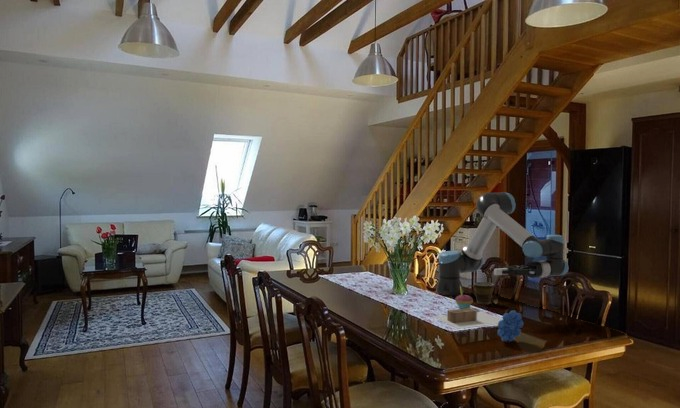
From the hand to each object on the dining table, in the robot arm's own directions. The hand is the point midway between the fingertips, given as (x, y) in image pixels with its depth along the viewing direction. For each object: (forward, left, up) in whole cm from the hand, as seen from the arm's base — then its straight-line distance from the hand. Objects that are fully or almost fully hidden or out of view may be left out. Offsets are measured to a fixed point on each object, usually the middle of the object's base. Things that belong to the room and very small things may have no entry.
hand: (495, 272), depth 217 cm
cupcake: (-20, -4, -22) cm, 29 cm away
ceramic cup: (-28, +11, -21) cm, 37 cm away
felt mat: (-1, -13, -21) cm, 25 cm away
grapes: (+28, -15, -22) cm, 38 cm away
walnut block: (-1, -11, -18) cm, 21 cm away
